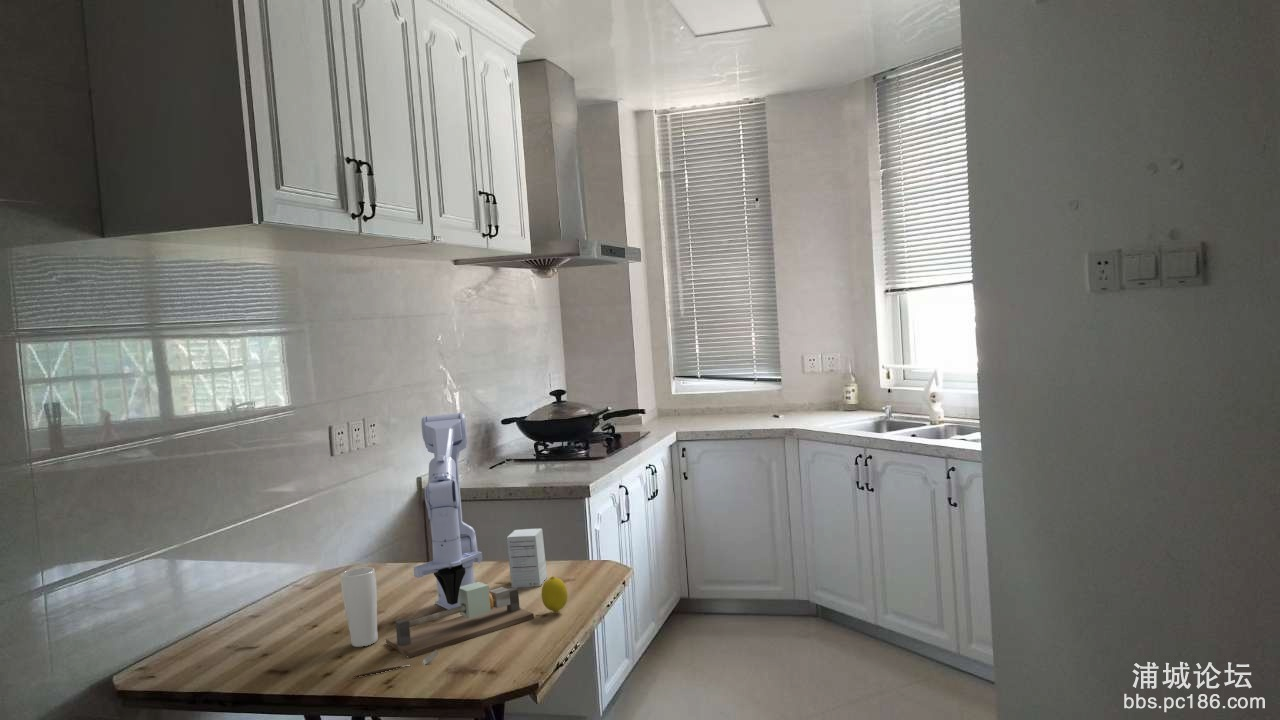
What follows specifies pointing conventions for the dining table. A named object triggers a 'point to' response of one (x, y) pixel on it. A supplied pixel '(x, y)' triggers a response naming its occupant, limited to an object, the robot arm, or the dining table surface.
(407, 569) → the dining table surface
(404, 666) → the fork
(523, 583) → the supplement box
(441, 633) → the board
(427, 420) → the robot arm
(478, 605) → the pale green block
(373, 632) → the drinking glass
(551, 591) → the lemon
